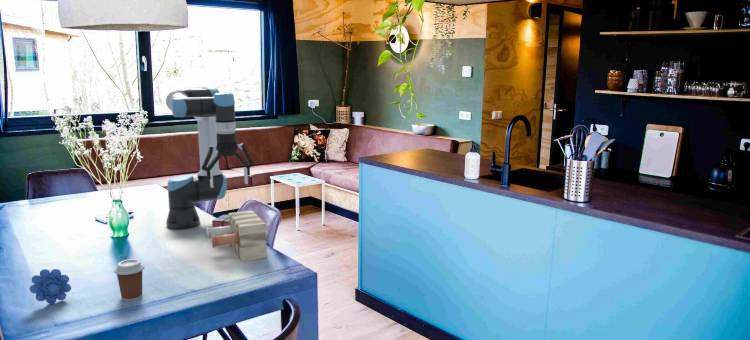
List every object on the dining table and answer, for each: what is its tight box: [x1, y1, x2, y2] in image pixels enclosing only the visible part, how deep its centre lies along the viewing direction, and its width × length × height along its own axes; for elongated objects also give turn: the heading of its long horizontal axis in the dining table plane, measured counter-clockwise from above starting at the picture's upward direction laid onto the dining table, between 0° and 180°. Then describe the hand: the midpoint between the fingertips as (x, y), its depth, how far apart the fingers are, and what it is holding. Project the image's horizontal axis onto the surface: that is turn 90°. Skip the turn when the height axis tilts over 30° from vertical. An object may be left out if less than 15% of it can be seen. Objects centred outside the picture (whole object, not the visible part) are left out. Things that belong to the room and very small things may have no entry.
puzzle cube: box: [211, 214, 229, 228], centre depth 240 cm, size 10×10×10 cm
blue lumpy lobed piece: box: [29, 268, 72, 305], centre depth 177 cm, size 12×7×12 cm, turn 136°
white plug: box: [205, 225, 233, 240], centre depth 228 cm, size 5×14×5 cm, turn 116°
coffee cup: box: [113, 258, 145, 302], centre depth 182 cm, size 9×9×12 cm
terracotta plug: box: [210, 233, 239, 248], centre depth 217 cm, size 5×14×5 cm, turn 116°
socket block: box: [227, 210, 268, 262], centre depth 226 cm, size 22×10×14 cm, turn 26°
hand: (229, 185), depth 221 cm, fingers open, 13 cm apart
